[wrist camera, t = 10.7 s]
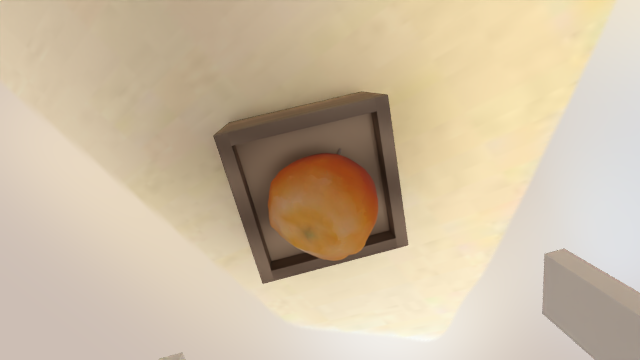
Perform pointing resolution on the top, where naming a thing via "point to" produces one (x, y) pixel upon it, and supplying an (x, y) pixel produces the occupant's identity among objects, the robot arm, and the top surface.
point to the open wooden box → (301, 141)
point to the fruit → (324, 205)
